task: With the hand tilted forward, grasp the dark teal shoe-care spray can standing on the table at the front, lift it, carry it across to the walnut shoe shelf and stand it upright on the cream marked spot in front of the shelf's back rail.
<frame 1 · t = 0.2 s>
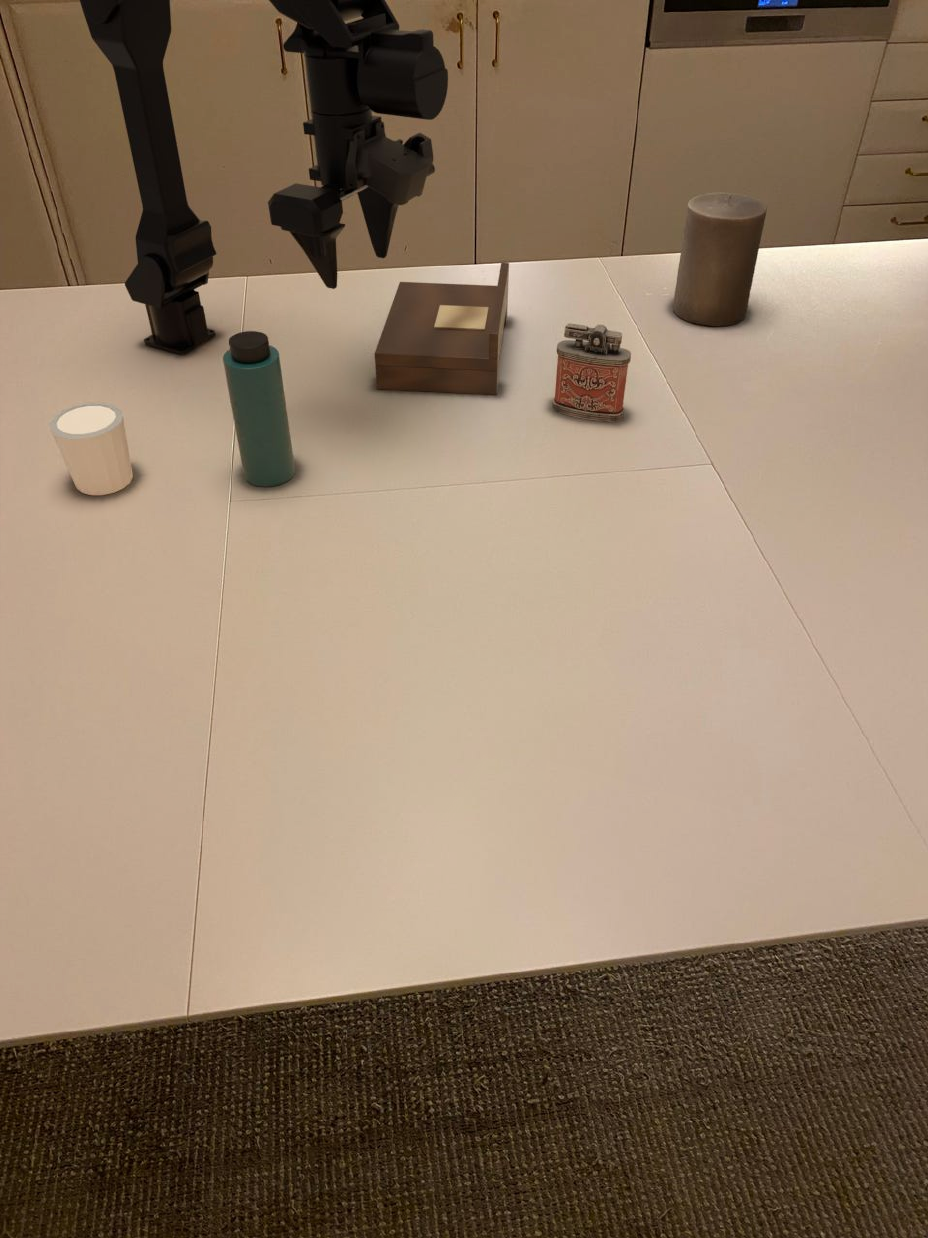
hand: (357, 271, 100), 14 cm above the table, tool pointing down, fingers open, 9 cm apart
shot glass: (104, 481, 97), on the table
pillar candle: (707, 312, 127), on the table
lighter: (587, 412, 107), on the table
spray can: (269, 472, 98), on the table
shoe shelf: (445, 352, 118), on the table
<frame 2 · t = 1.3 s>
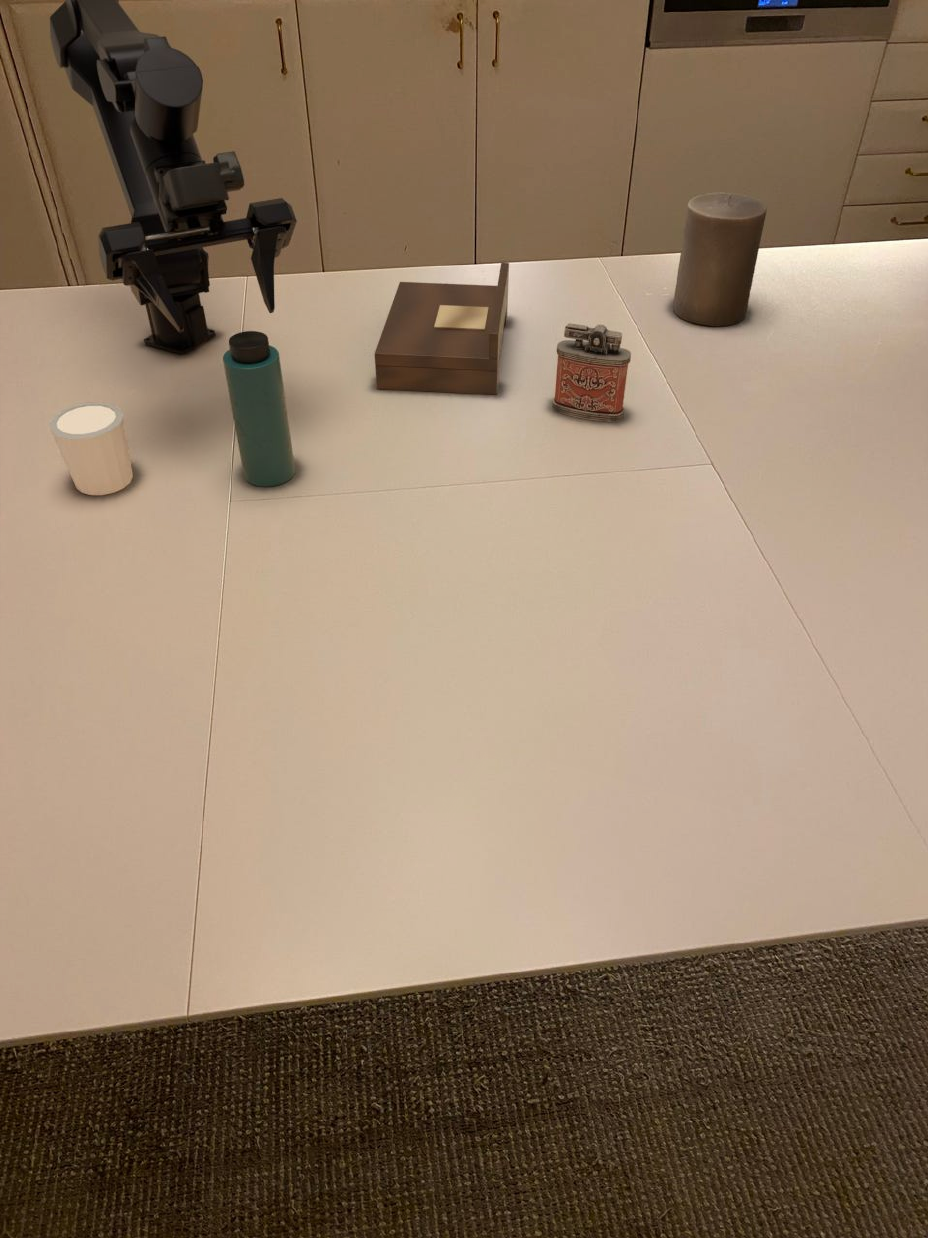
hand: (227, 320, 94), 13 cm above the table, tool tilted 45°, fingers open, 9 cm apart
nothing on the table moved.
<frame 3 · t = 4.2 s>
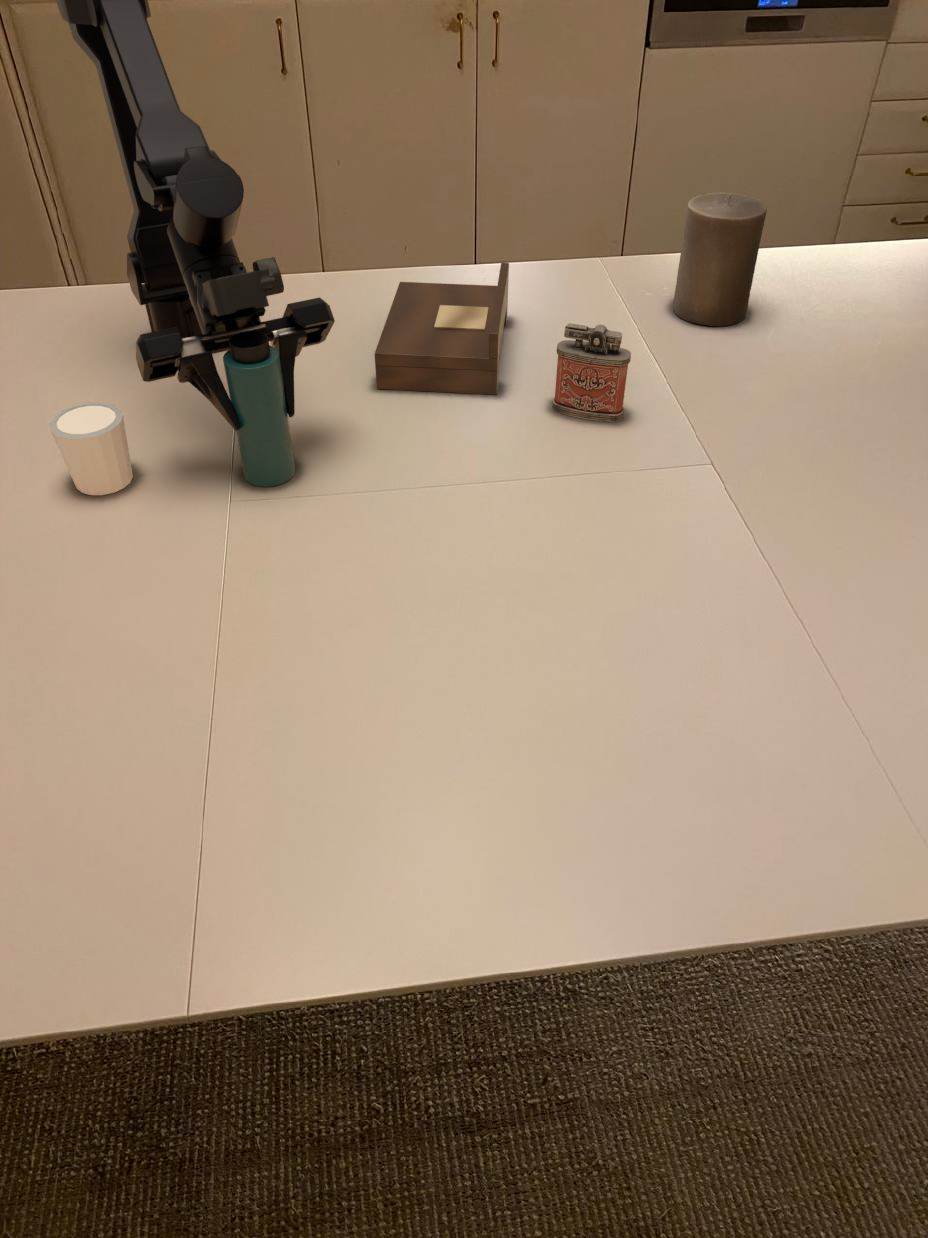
hand: (265, 422, 92), 7 cm above the table, tool tilted 45°, fingers closed on spray can, 5 cm apart
spray can: (269, 472, 98), on the table, touching gripper
everything else where it was.
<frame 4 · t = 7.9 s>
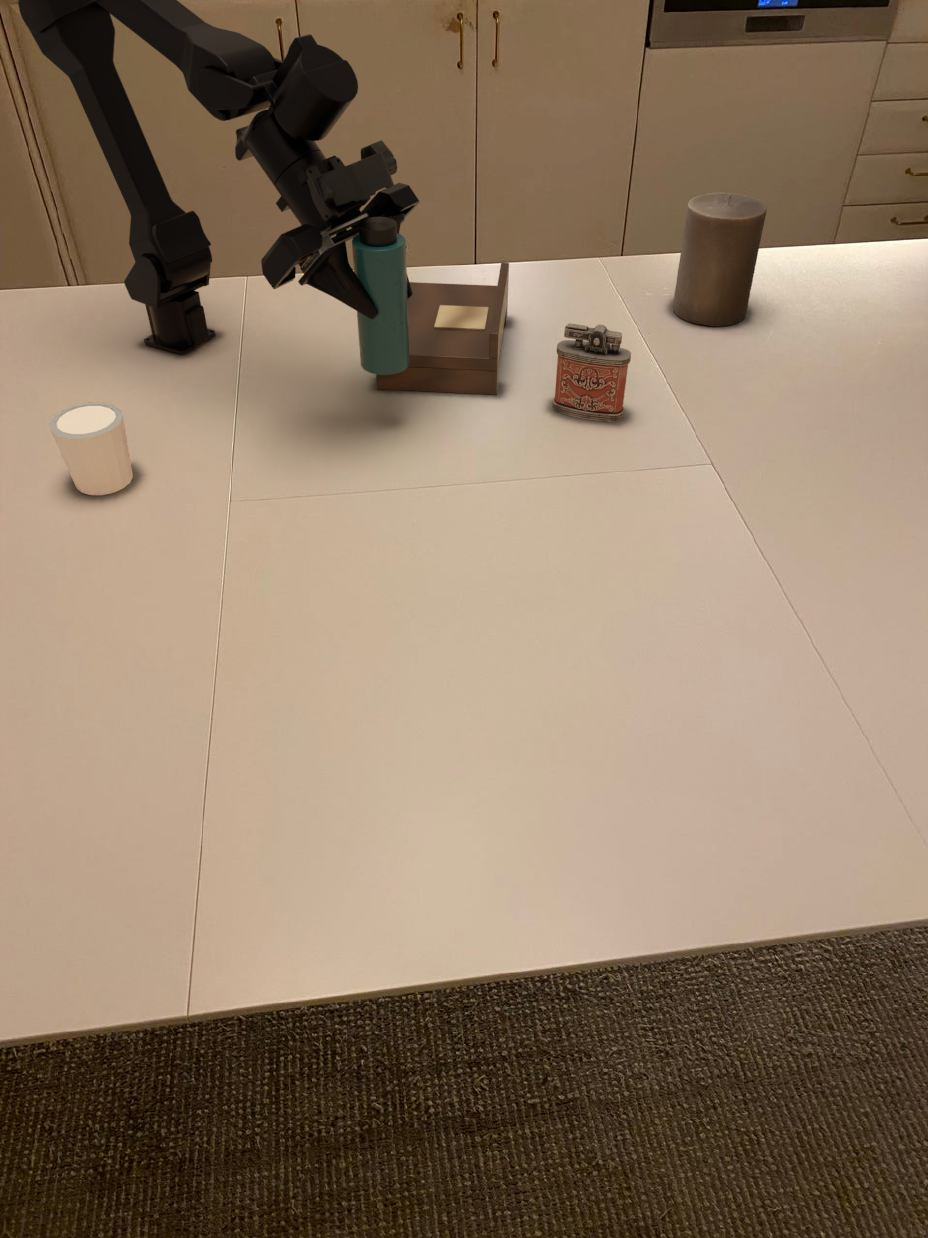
hand: (392, 307, 96), 13 cm above the table, tool tilted 45°, fingers closed on spray can, 5 cm apart
spray can: (385, 363, 101), point 7 cm above the table, touching gripper
everything else where it was.
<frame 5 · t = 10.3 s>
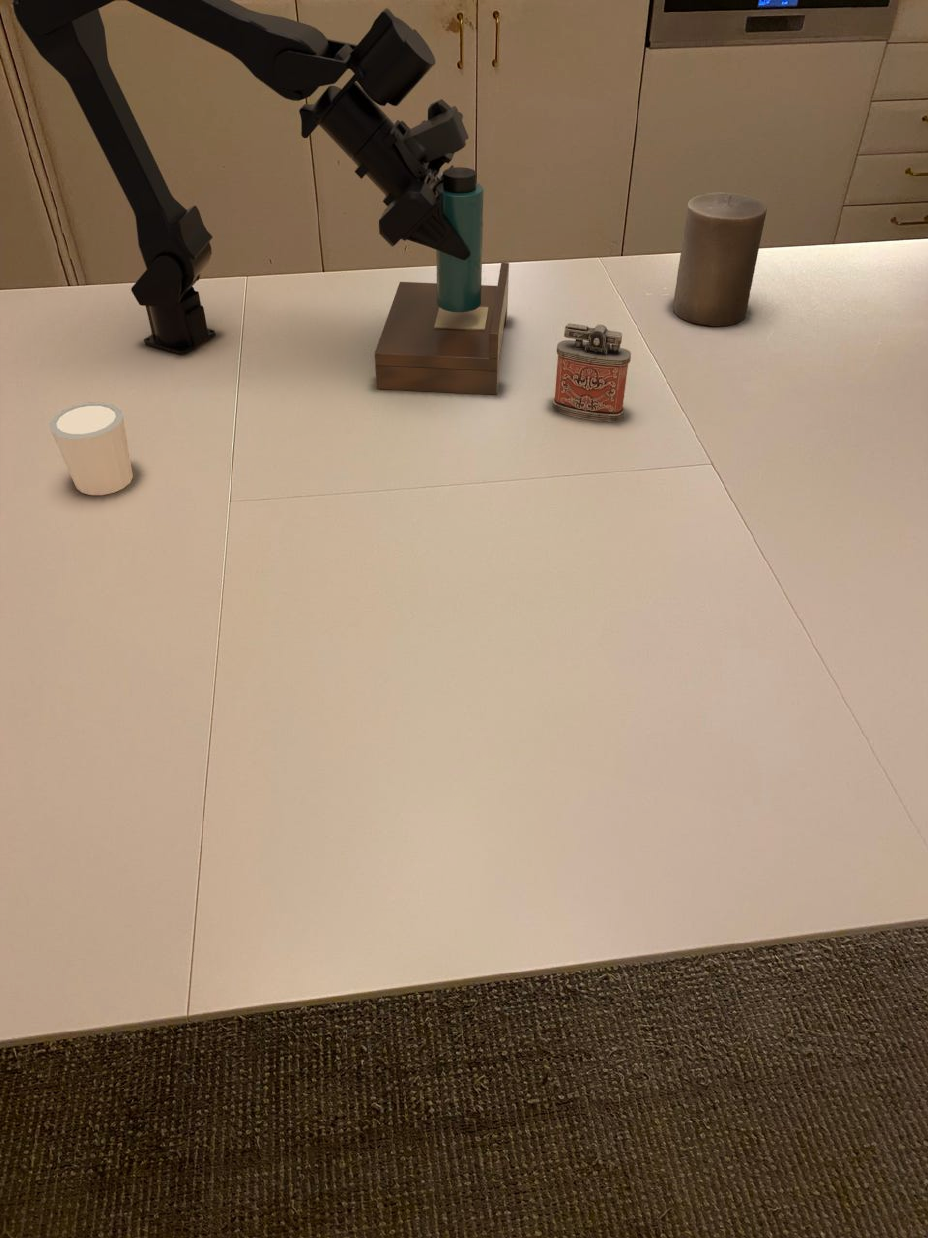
hand: (471, 247, 108), 13 cm above the table, tool tilted 45°, fingers closed on spray can, 5 cm apart
spray can: (458, 303, 112), point 7 cm above the table, touching gripper
everything else where it was.
when the fingers open (11 cm above the table, at t = 11.9 s): spray can stays where it is, resting on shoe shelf.
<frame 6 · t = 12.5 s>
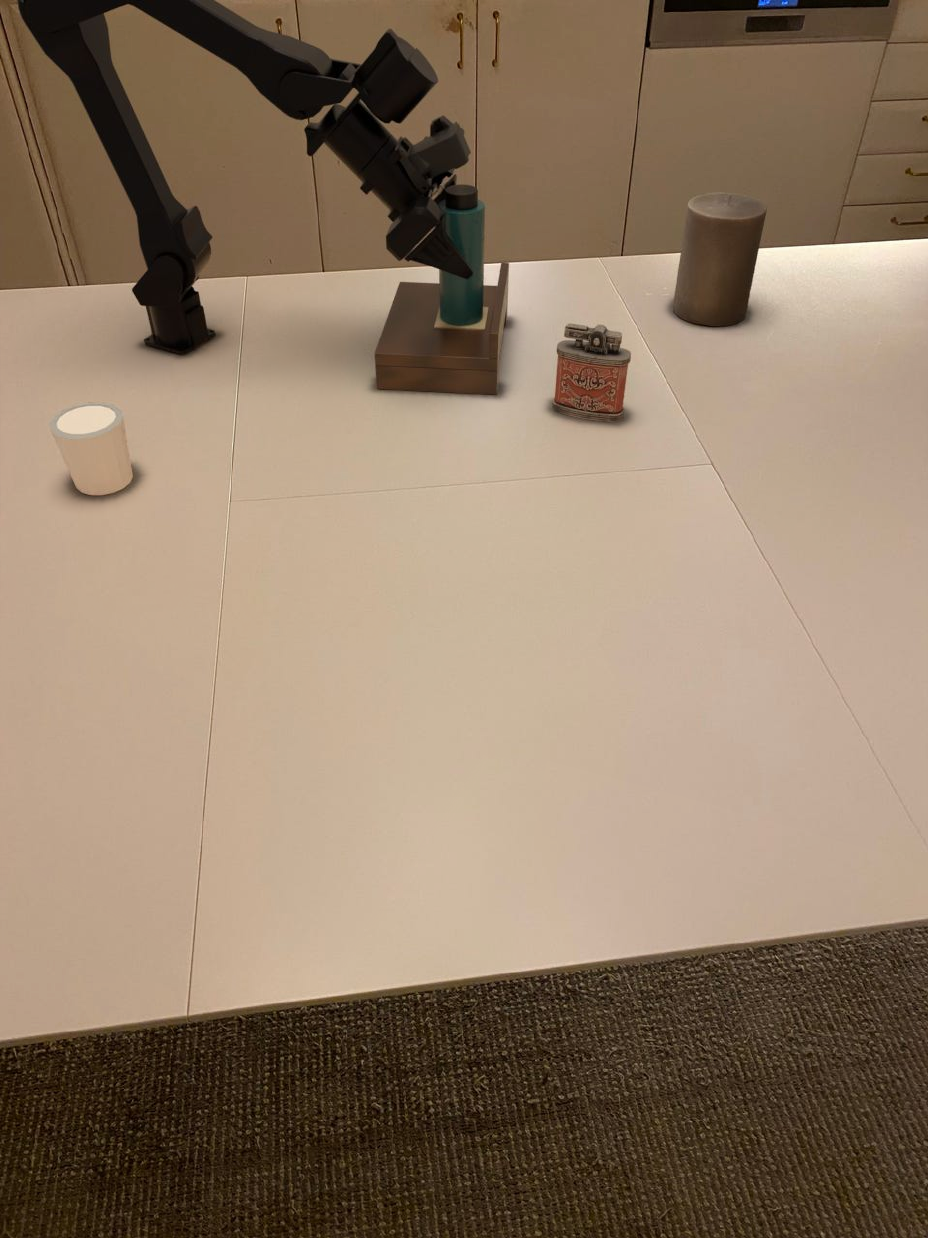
hand: (474, 259, 110), 12 cm above the table, tool tilted 45°, fingers open, 9 cm apart
spray can: (461, 316, 114), point 5 cm above the table, touching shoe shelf
everything else where it was.
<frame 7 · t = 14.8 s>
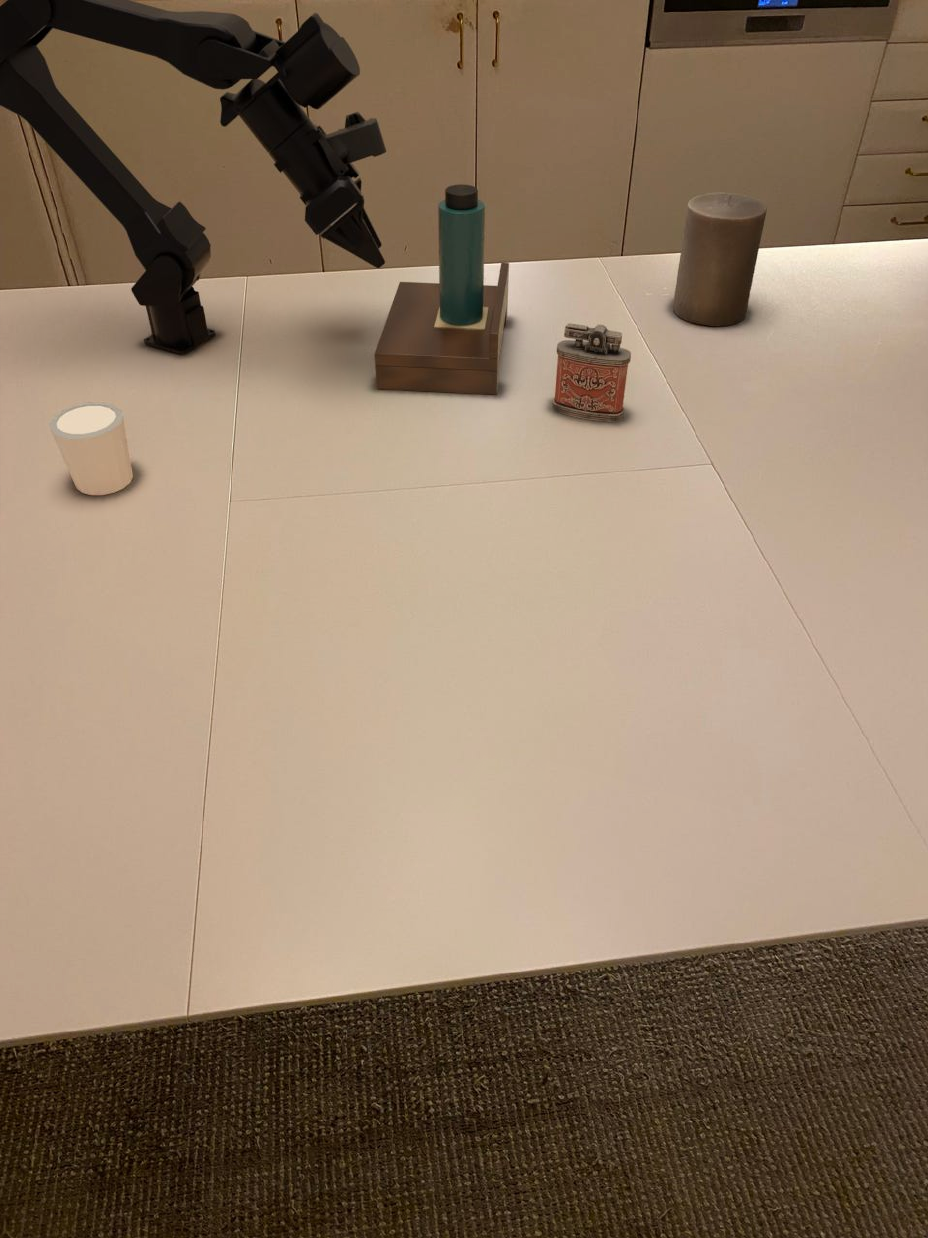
hand: (380, 256, 110), 12 cm above the table, tool tilted 35°, fingers open, 9 cm apart
nothing on the table moved.
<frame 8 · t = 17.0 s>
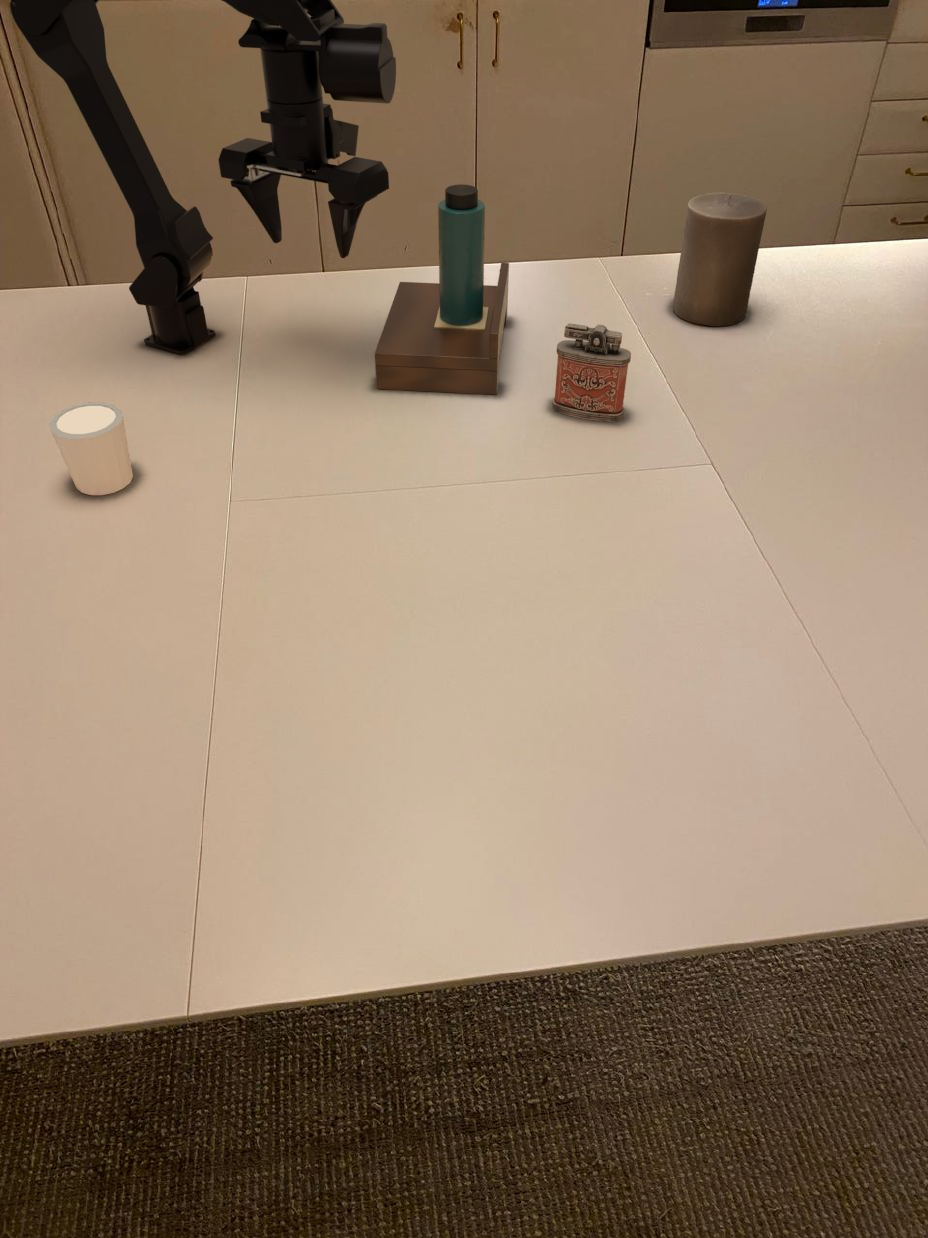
hand: (310, 249, 108), 13 cm above the table, tool pointing down, fingers open, 9 cm apart
nothing on the table moved.
at the end: spray can 0.1 cm from the target spot on the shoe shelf, point 4.7 cm above the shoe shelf's base; spray can tilted 0°; the gripper is holding nothing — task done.
